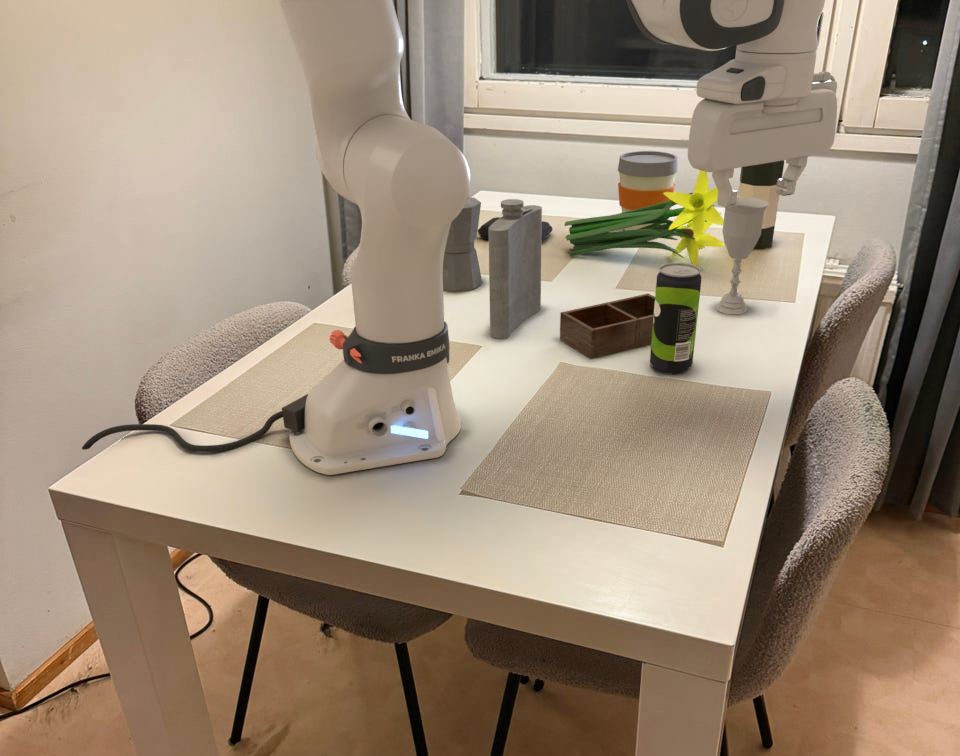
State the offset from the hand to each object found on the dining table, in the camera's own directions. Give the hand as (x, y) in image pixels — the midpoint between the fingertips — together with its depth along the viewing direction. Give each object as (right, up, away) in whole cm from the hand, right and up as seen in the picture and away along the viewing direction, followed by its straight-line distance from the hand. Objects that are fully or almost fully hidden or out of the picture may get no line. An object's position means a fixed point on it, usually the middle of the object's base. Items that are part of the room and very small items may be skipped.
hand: (755, 199), depth 110 cm
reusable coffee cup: (+2, +21, +87) cm, 90 cm away
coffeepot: (-38, +3, +59) cm, 70 cm away
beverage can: (-5, -18, +24) cm, 30 cm away
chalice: (+9, -5, +44) cm, 45 cm away
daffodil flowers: (-2, +8, +67) cm, 67 cm away
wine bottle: (+22, +14, +76) cm, 80 cm away
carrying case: (-26, +18, +83) cm, 89 cm away
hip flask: (-28, -8, +41) cm, 50 cm away
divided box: (-12, -12, +34) cm, 37 cm away
